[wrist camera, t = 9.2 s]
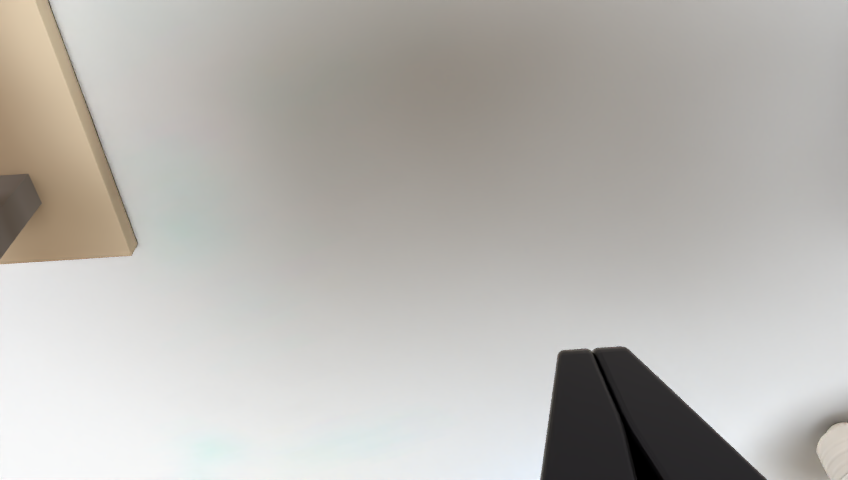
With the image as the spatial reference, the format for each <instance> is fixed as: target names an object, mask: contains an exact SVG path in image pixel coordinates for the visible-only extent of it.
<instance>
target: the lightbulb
mask: <svg viewBox="0 0 848 480" xmlns="http://www.w3.org/2000/svg"><path fill="white" fill-rule="evenodd" d="M816 452H817V455H818V457H819V459H820V461H821V464H822V466H823V467H824V469H825V470H826V474H827V475H828V477H829V478H830V480H848V423H847V422H841V423H837V424H835V425H833V426H831V427H830V428H829V429H828V430H827V433H826V434H824V435H823V436H822V437H821V439H820V440H819V442H818V445H817V450H816Z"/></svg>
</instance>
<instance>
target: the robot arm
mask: <svg viewBox="0 0 848 480" xmlns="http://www.w3.org/2000/svg"><path fill="white" fill-rule="evenodd" d="M540 480H767V479H766V478H765V477H764V476H763V475H761V474H760V473H759V472H758V471H757V470H756V469H755V468H754V467H753V466H752V465H751V464H750V463H749V462H748V461H747V460H746V459H744V458H743V457H742V456H741V455H740V454H739V453H738V452H737V451H736V450H735V449H734V448H733V447H732V446H731V445H730V444H729V443H728V442H726V441H725V440H724V439H723V438H722V437H721V436H720V435H719V434H718V433H717V432H716V431H715V430H714V429H713V428H712V427H711V426H709V425H708V424H707V423H706V422H705V421H704V420H703V419H702V418H701V417H700V416H699V415H698V414H697V413H696V412H695V411H694V410H692V409H691V408H690V407H689V406H688V405H687V404H686V403H685V402H684V401H683V400H682V399H681V398H680V397H679V396H678V395H677V394H675V393H674V392H673V391H672V390H671V389H670V388H669V387H668V386H667V385H666V384H665V383H664V382H663V381H662V380H661V379H660V378H659V377H657V376H656V375H655V374H654V373H653V372H652V371H651V370H650V369H649V368H648V367H647V366H646V365H645V364H644V363H643V362H642V361H640V360H639V359H638V358H637V357H636V356H635V355H634V354H633V353H632V352H631V351H630V350H629V349H627V348H625V347H621V346H619V347H604V348H596V349H594V350H593V351H592V352H591V351H590V350H589V349H574V350H562V351H560V352H559V353H558V357H557V364H556V371H555V378H554V385H553V392H552V400H551V407H550V414H549V421H548V428H547V435H546V443H545V450H544V457H543V464H542V471H541V478H540Z"/></svg>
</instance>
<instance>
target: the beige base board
mask: <svg viewBox="0 0 848 480" xmlns="http://www.w3.org/2000/svg"><path fill="white" fill-rule="evenodd" d="M136 246H137V242H136V239H135V236H134V233H133V231H132V228H131V225H130V223H129V220H128V217H127V214H126V212H125V209H124V206H123V204H122V201H121V198H120V195H119V193H118V190H117V187H116V185H115V182H114V179H113V176H112V174H111V171H110V168H109V166H108V163H107V160H106V157H105V155H104V152H103V149H102V147H101V144H100V141H99V138H98V136H97V133H96V130H95V128H94V125H93V122H92V119H91V117H90V114H89V111H88V109H87V106H86V103H85V100H84V98H83V95H82V92H81V90H80V87H79V84H78V81H77V79H76V76H75V73H74V71H73V68H72V65H71V62H70V60H69V57H68V54H67V52H66V49H65V46H64V43H63V41H62V38H61V35H60V33H59V30H58V27H57V24H56V22H55V19H54V16H53V13H52V11H51V8H50V5H49V3H48V0H0V264H11V263H27V262H42V261H58V260H73V259H88V258H104V257H119V256H132V254H133V252H134V250H135V248H136Z"/></svg>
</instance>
